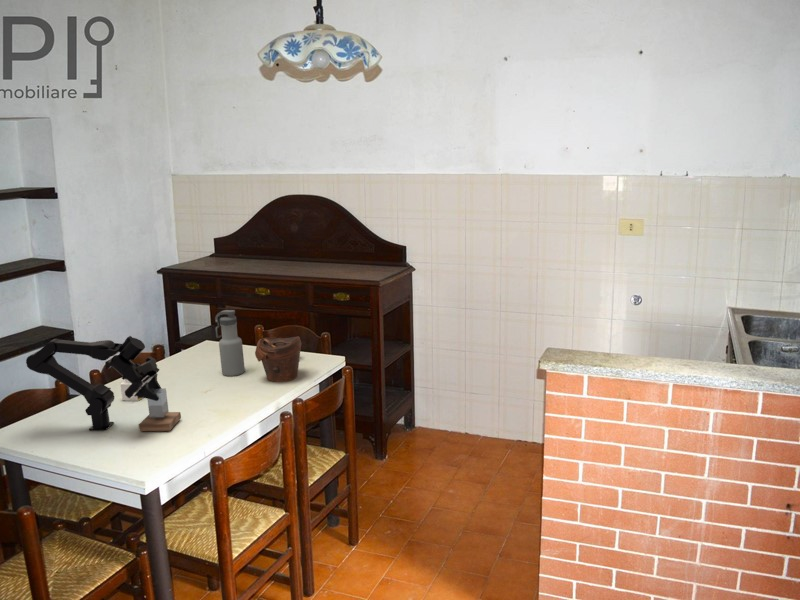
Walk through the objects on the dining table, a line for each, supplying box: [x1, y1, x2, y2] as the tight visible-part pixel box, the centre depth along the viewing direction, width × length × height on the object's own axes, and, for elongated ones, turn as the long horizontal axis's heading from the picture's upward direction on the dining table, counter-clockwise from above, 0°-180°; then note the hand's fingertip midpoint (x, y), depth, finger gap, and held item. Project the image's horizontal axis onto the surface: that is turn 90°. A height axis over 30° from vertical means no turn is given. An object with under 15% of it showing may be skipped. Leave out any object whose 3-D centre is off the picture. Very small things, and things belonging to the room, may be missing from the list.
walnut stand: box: [138, 411, 182, 432], centre depth 255 cm, size 11×11×3 cm
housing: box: [146, 388, 170, 417], centre depth 253 cm, size 5×5×9 cm
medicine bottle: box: [119, 378, 144, 402], centre depth 284 cm, size 7×7×12 cm
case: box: [254, 336, 302, 383], centre depth 300 cm, size 18×20×18 cm
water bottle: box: [214, 309, 245, 377], centre depth 307 cm, size 10×10×28 cm
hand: (160, 397), depth 253 cm, fingers closed on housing, 5 cm apart
